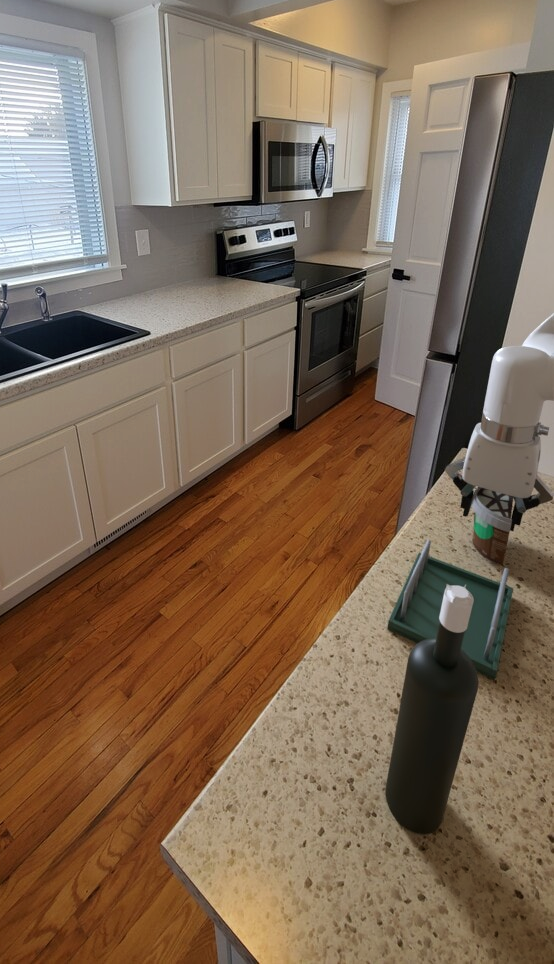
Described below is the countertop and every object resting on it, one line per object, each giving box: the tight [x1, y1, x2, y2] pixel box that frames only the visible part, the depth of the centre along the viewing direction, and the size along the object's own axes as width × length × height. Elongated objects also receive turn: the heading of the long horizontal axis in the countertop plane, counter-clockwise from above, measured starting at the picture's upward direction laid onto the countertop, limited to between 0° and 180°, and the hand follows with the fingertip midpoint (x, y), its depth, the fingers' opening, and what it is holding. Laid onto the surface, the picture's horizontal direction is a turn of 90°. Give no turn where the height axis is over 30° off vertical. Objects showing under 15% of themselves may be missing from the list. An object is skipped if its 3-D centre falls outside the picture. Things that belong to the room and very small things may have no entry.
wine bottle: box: [384, 584, 479, 835], centre depth 45 cm, size 6×6×30 cm
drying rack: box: [386, 539, 514, 681], centre depth 71 cm, size 14×16×7 cm
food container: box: [471, 486, 514, 566], centre depth 82 cm, size 12×6×10 cm, turn 149°
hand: (489, 518), depth 82 cm, fingers closed on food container, 6 cm apart
